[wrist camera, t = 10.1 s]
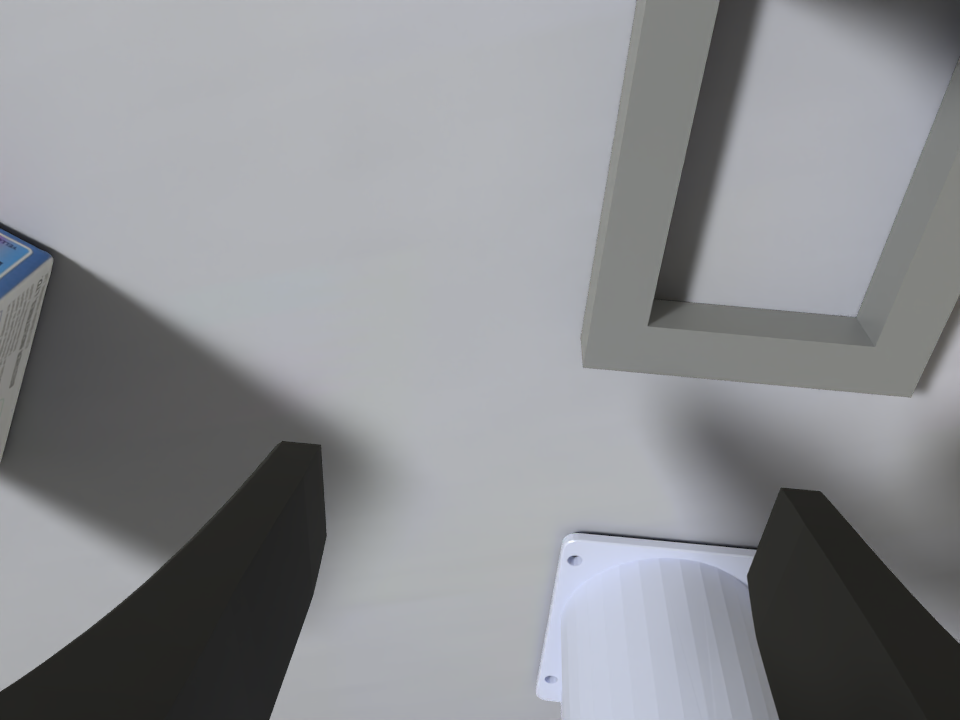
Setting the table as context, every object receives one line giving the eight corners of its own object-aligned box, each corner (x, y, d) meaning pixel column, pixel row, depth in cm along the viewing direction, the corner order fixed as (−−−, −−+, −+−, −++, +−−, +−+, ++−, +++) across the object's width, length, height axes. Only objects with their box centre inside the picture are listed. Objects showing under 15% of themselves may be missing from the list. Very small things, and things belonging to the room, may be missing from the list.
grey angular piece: (890, 366, 23) (1059, 628, 15) (580, 338, 23) (599, 585, 16) (1139, -195, 15) (1707, -209, 8) (675, -232, 15) (801, -283, 8)
